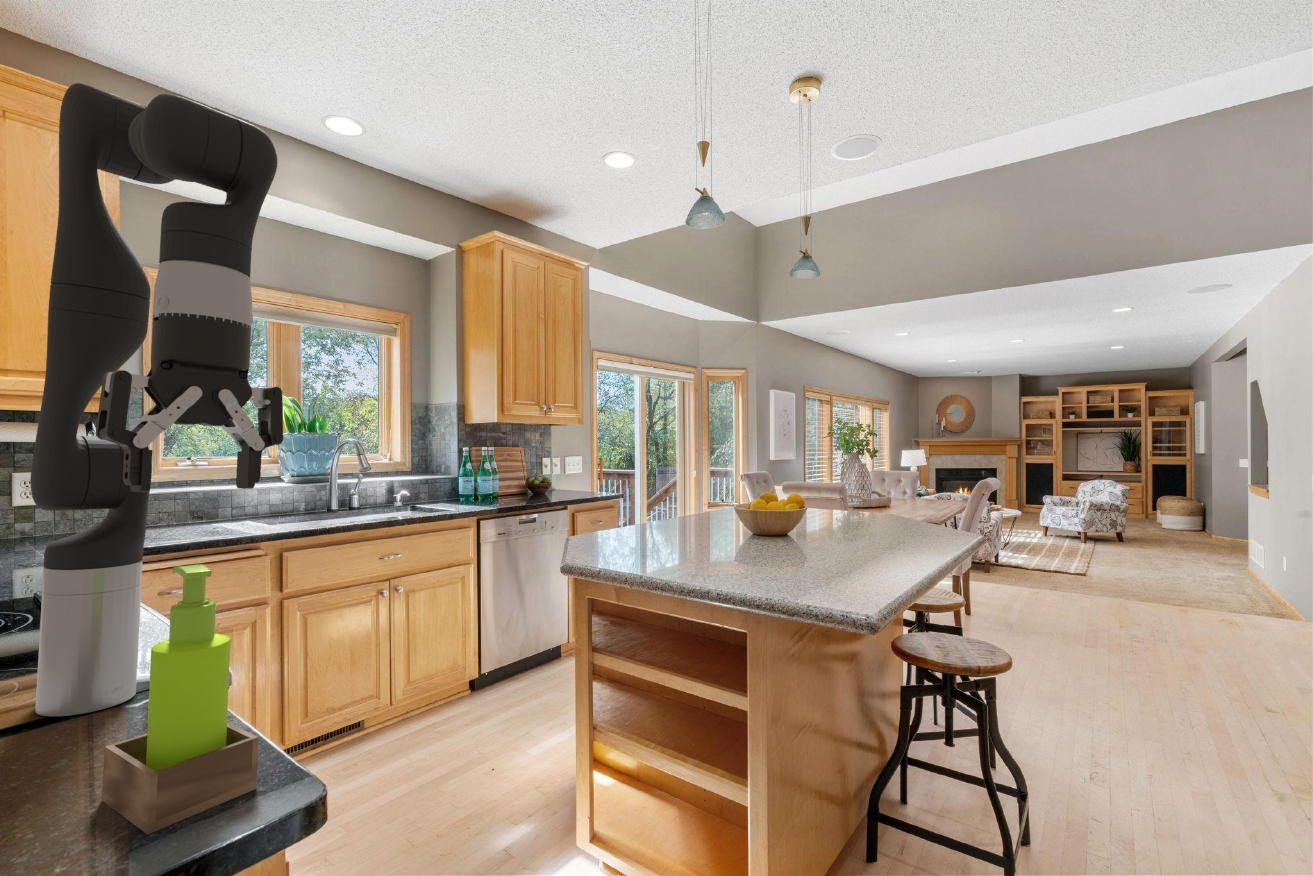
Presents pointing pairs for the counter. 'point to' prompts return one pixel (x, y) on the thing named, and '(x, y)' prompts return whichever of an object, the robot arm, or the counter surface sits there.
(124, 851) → the counter surface
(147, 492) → the robot arm
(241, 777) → the walnut caddy
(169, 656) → the soap dispenser
